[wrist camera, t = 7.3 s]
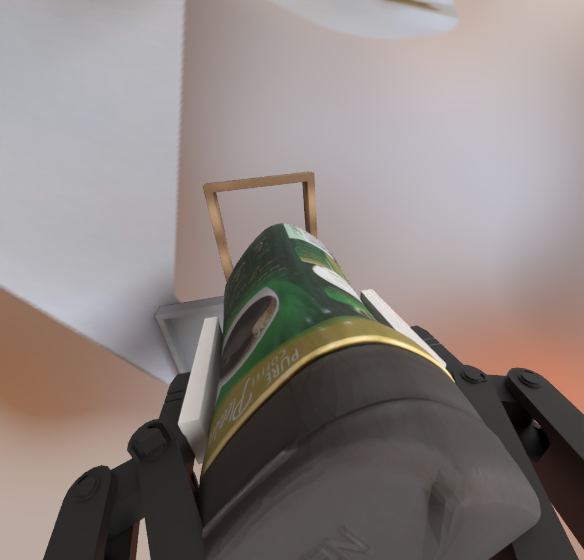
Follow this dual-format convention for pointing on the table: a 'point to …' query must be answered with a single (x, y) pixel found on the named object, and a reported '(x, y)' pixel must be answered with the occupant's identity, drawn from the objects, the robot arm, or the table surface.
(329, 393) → the coffee jar
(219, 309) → the slate tray
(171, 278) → the table surface
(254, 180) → the walnut frame
